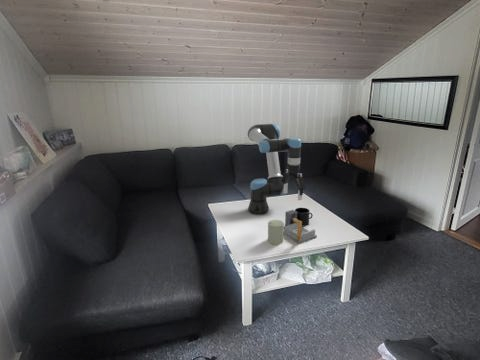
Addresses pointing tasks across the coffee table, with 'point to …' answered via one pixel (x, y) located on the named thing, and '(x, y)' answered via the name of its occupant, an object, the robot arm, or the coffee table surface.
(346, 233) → the coffee table surface
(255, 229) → the coffee table surface
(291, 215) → the dark gray box
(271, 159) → the robot arm
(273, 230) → the can
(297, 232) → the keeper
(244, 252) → the coffee table surface
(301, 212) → the mug
